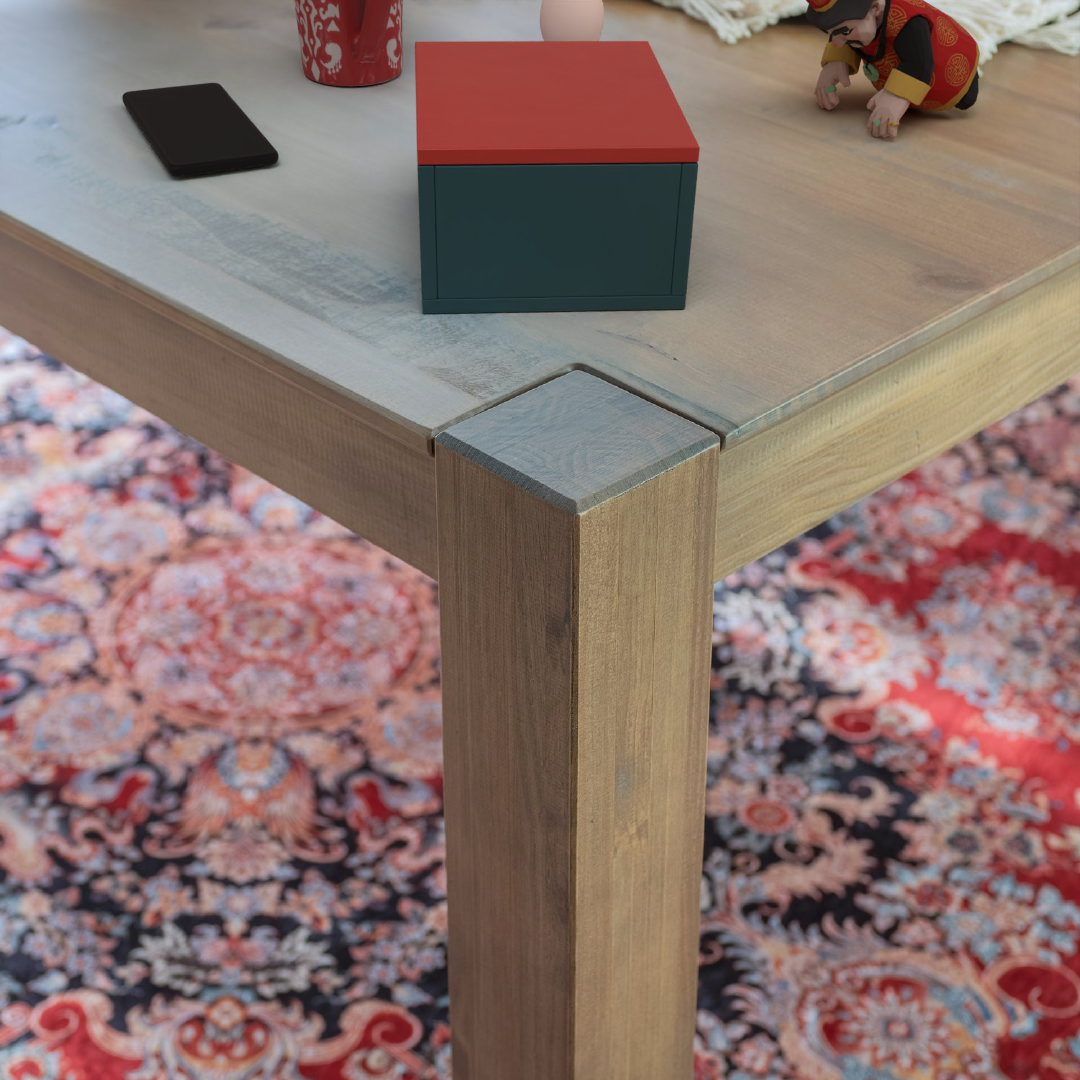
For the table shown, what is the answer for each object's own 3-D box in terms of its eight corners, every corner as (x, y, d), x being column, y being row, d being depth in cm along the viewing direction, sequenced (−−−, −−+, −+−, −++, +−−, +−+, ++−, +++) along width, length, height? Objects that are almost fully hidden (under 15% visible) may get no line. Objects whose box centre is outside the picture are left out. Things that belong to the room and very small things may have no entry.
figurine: (860, 144, 102) (722, 67, 93) (920, 20, 100) (785, -72, 91) (952, 177, 95) (813, 97, 86) (1020, 43, 93) (885, -54, 83)
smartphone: (219, 81, 96) (281, 152, 85) (220, 92, 97) (282, 166, 86) (119, 91, 94) (169, 167, 83) (121, 103, 94) (171, 180, 83)
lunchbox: (419, 189, 83) (415, 59, 79) (640, 187, 84) (649, 58, 80) (422, 314, 70) (417, 166, 65) (685, 309, 71) (698, 163, 66)
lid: (415, 55, 79) (414, 41, 79) (647, 54, 80) (648, 40, 80) (417, 165, 65) (416, 149, 65) (698, 162, 66) (700, 146, 66)
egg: (553, 73, 102) (555, -21, 98) (529, 54, 106) (530, -37, 102) (612, 66, 104) (617, -26, 100) (586, 48, 107) (590, -42, 103)
